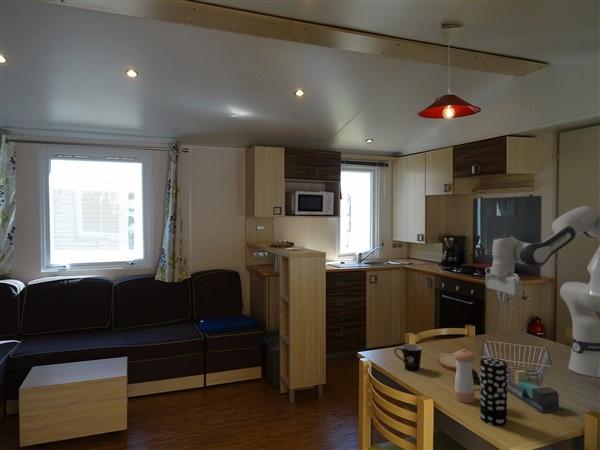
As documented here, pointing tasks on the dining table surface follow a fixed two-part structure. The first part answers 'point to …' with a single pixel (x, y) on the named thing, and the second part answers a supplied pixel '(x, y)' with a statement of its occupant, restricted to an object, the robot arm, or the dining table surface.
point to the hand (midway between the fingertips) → (503, 301)
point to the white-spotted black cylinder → (493, 391)
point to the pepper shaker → (464, 377)
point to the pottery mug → (474, 374)
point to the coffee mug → (411, 356)
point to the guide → (537, 397)
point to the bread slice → (447, 361)
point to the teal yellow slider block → (524, 382)
